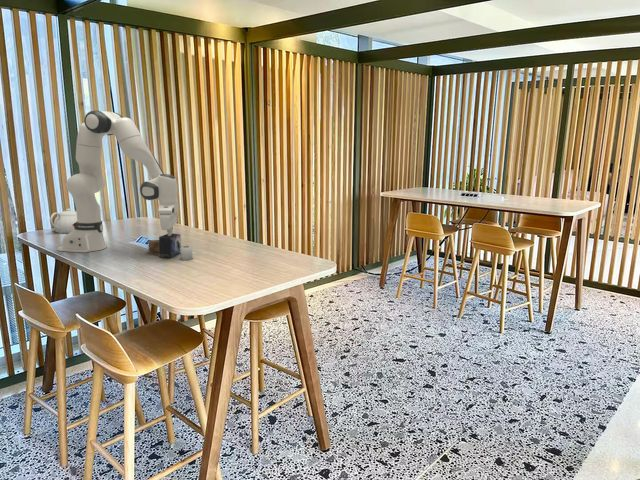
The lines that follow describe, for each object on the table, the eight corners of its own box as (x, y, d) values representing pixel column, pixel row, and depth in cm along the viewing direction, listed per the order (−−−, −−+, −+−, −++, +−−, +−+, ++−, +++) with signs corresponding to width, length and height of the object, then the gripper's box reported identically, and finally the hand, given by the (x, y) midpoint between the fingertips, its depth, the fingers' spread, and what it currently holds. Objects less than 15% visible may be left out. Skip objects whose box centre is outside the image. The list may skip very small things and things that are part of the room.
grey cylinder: (179, 260, 221) (179, 247, 220) (181, 257, 226) (181, 245, 225) (191, 260, 222) (190, 248, 220) (193, 257, 227) (193, 245, 226)
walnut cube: (148, 254, 230) (148, 242, 229) (148, 251, 236) (148, 239, 234) (161, 253, 232) (161, 241, 231) (161, 250, 238) (160, 239, 236)
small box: (171, 258, 223) (170, 237, 221) (158, 257, 225) (158, 236, 222) (181, 253, 234) (181, 233, 231) (170, 252, 235) (169, 232, 232)
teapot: (53, 229, 281) (51, 207, 278) (87, 227, 289) (85, 206, 286) (50, 235, 265) (48, 211, 262) (86, 233, 272) (84, 210, 270)
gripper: (167, 204, 234) (168, 231, 237) (156, 210, 214) (158, 239, 217) (179, 204, 234) (181, 231, 237) (170, 210, 214) (172, 239, 217)
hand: (170, 235), depth 227 cm, fingers closed, pressing on small box
